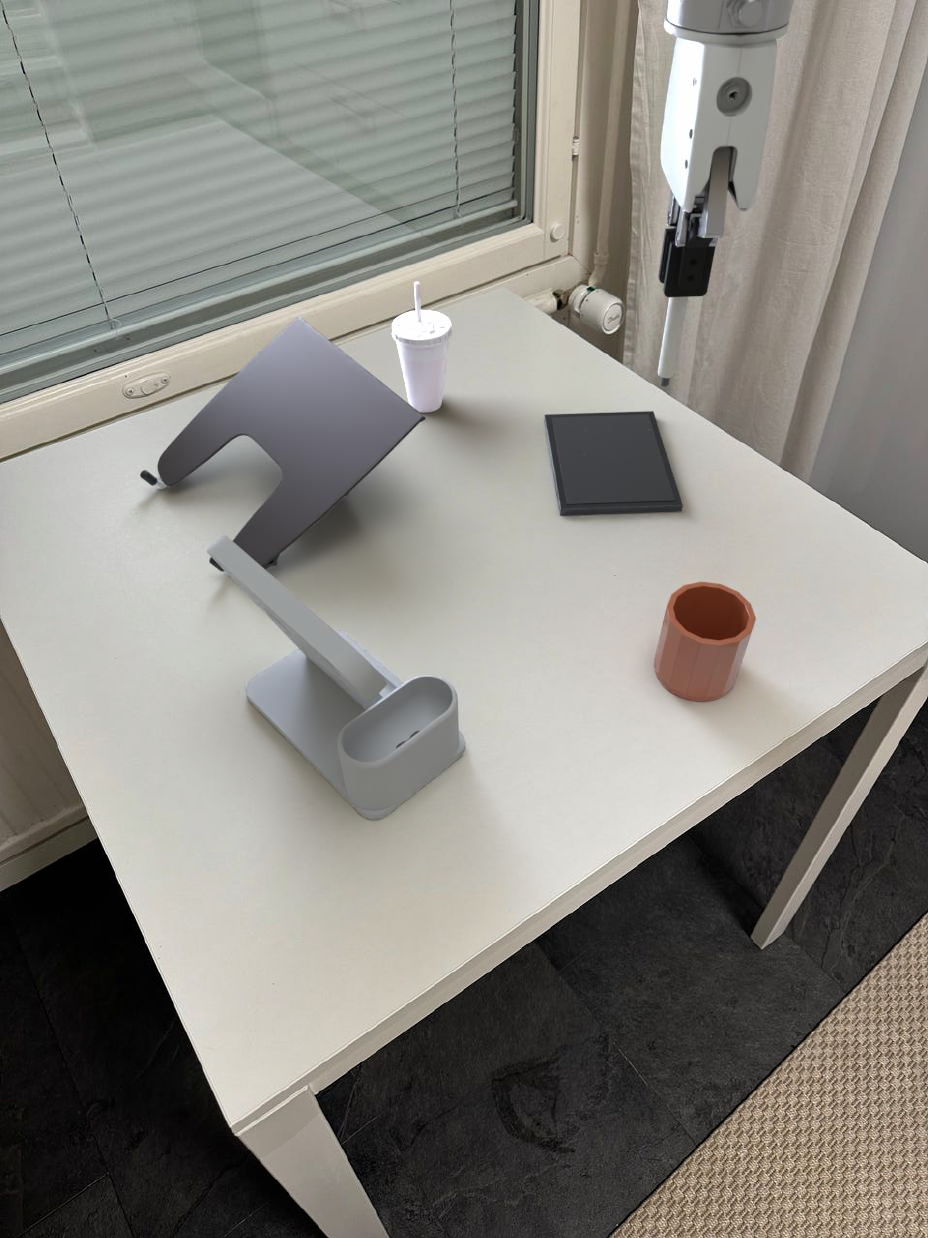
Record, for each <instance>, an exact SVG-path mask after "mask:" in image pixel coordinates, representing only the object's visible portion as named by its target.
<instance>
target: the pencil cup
mask: <svg viewBox="0 0 928 1238" xmlns="http://www.w3.org/2000/svg"><path fill="white" fill-rule="evenodd" d="M665 607H666V608H665V611H664V617H663V621H662V625H661V630H660V634H659V638H658V643H657V647H656V652H655V656H654V671H655V675H656V677H657V679H658V681H659V682H660V683H661V685H662V686H663V687H664V688H665V689H666V690H668V691H669V692H670V693H671V694H673V695H675V696H677V697H679V698H682V699H685V700H687V701H692V702H711V701H715V700H718V699H720V698H722V697H724V696H726V695H727V694H728V693H730V691H731V690H732V688H733V687H734V686H735V684H736V680H737V677H738V675H739V672H740V669H741V666H742V663H743V659H744V657H745V654H746V652H747V648H748V645H749V642H750V640H751V636H752V633H753V630H754V627H755V623H756V620H757V618H756V614H755V611H754V608H753V606H752V604H751V602H750V601H748V599H746V597H744V595H742V594H741V592H739V591H737V590H735V589H733V588H731V587H729V586H726V585H725V584H722V583H716V582H709V581H698V582H691V583H687V584H684V585H682V586H680V587H679V588H678V589H676V590H675V591H674V592H672V593H671V594H670V597H669V599H668V602H667V604H666V606H665Z"/></svg>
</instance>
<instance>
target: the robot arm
mask: <svg viewBox="0 0 928 1238" xmlns="http://www.w3.org/2000/svg"><path fill="white" fill-rule="evenodd" d="M793 4H794V0H666V6H665V15H664V21H663V29H664V31H665V32H667V33H668V34H669V35H671V36H674V37H676V39H675V45H674V46H673V56H672V61H671V67H670V76H669V81H668V87H667V93H666V99H665V108H664V115H663V121H662V122H663V123H662V130H661V141H660V164H661V168H662V171H663V173H664V176H665V179H666V181H667V183H668V186H669V188H670V191H669V200H668V207H667V215H666V225H667V227H668V228H664V233H663V240H662V247H661V255H660V261H659V269H658V280H659V282H660V284H663V288H662V290H663V295H664V296H665V297H667V298H669V297H688V298H690V297H704V296H706V294H707V293H708V289H709V285H710V278H711V273H712V268H713V263H714V257H715V253H716V247H717V244H718V239H721V238H723V235H724V231H725V220H726V212H727V211H726V210H727V201H728V200H727V199H728V193H729V194H730V196H731V198H732V200H733V202H734V203H735V206H736V207H737V208H738V209H739V211H741V212H748V211H749V210H750V209H751V208H752V207H753V206H754V204H755V201H756V196H757V193H758V186H759V181H760V175H761V170H762V163H763V157H764V151H765V145H766V140H767V132H768V127H769V123H770V122H769V120H770V116H771V115H770V114H771V108H772V100H773V93H774V85H775V77H776V76H775V74H776V66H777V52H778V51H777V49H778V42H777V39H780V38H782V37H784V36H785V35H786V34H787V33H788V29H789V25H790V19H791V14H792V10H793V9H792V8H793ZM691 214H702V216H701V217H693V218H692V219H691V221H690V217H691Z"/></svg>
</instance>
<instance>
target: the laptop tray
mask: <svg viewBox="0 0 928 1238" xmlns="http://www.w3.org/2000/svg"><path fill="white" fill-rule="evenodd" d="M424 421H426V416H425V415H424V414H422V412H418V411H417V410H416V409H415V408H413V407H412V406H411V405H410V404H409V402H408V401H406V400H405V399H403V397H401V396H400V395H398V394H397V393H396V392H394V390H392V389H391V388H390V387H389V386H387V385H386V383H384V382H382V381H381V380H380V379H378V378H377V377H376V376H375V375H373V374H372V373H371V372H370V371H368V370H367V369H366V368H365V367H363V366H362V365H361V364H360V363H359V362H357V360H355V359H353V358H352V357H351V356H350V355H348V354H347V353H345V352H344V351H343V350H342V349H341V348H339V346H337V345H336V344H334V343H333V342H332V341H331V340H330V339H328V338H327V337H326V336H325V335H324V334H322V333H321V332H320V331H318V330H317V329H316V328H315V327H313V326H312V325H311V324H310V323H308V322H307V321H306V320H305V319H303V318H302V317H301V316H297V317H296V318H294V319H293V320H292V321H291V322H290V323H289V324H288V325H287V326H286V327H285V328H284V329H282V331H281V332H279V333H278V334H277V335H276V336H275V337H273V339H272V340H271V341H270V342H269V343H267V344H266V345H265V346H264V347H263V348H262V349H261V350H260V351H259V352H258V353H257V354H256V355H255V356H254V357H253V358H252V359H251V360H250V361H249V362H247V364H246V365H244V367H242V368H241V370H240V371H238V372H237V374H236V375H234V377H232V378H231V379H230V381H229V382H227V384H225V385H224V386H223V387H222V388H221V389H220V390H219V392H217V393H216V394H215V396H213V397H212V399H211V400H209V401H208V403H207V404H205V405H204V407H203V408H202V409H200V411H199V412H198V413H197V414H196V415H195V416H194V417H193V418H192V419H191V420H190V421H189V423H188V424H187V425H185V427H184V428H183V429H182V430H181V432H179V434H178V435H177V436H176V437H175V438H174V439H173V440H172V441H171V443H170V444H169V445H168V446H167V447H166V448H165V449H164V450H163V452H162V454H161V455H160V457H159V459H158V462H157V473H158V475H159V477H160V479H161V480H158V478H157V477H156V476H154V475H153V474H152V473H151V472H149V471H148V470H147V469H143V470H142V471H140V474H139V476H140V478H141V479H143V481H145V482H146V483H147V484H148V485H150V486H152V487H153V488H155V489H157V490H163V489H166V488H167V487H168V488H172V487H175V486H176V485H178V484H180V483H181V482H182V481H183V480H185V479H186V478H187V477H188V476H190V475H191V474H192V473H194V472H195V471H197V470H198V469H199V468H200V467H202V466H203V465H205V464H206V463H207V462H208V461H209V460H210V459H212V458H213V457H214V456H215V455H216V454H217V453H219V452H220V451H221V450H223V448H224V447H226V446H227V445H228V444H229V443H230V442H232V441H233V440H234V439H237V438H238V437H242V436H247V437H249V438H250V439H252V440H253V441H254V442H255V443H256V444H257V445H258V446H259V447H260V448H261V449H262V450H263V451H264V452H265V453H266V454H267V455H268V456H269V457H270V458H271V459H272V460H273V461H274V462H275V463H276V464H277V465H278V467H279V468H280V469H281V472H282V477H281V481H280V483H279V485H278V486H277V488H276V489H275V490H274V491H273V492H272V494H270V495H269V496H268V497H267V499H266V500H265V501H264V502H263V503H262V504H261V505H260V507H258V509H257V510H256V511H255V512H254V513H253V515H252V516H251V517H250V518H249V520H248V521H247V522H246V523H245V524H244V525H243V527H242V528H241V529H240V530H239V532H238V533H237V534H236V536H235V537H234V538H233V540H232V541H233V542H234V543H235V544H236V545H237V546H239V547H240V548H241V549H242V550H243V551H244V552H245V553H247V554H248V555H249V556H250V557H251V558H252V559H253V560H255V561H256V562H257V563H258V564H259V565H260V566H261V567H263V568H264V569H265V570H267V569H269V568H275V567H277V565H278V558H279V557H280V555H281V554H282V553H283V552H285V551H286V550H287V549H288V548H289V547H290V546H292V545H293V544H294V543H295V542H296V541H297V540H299V538H301V537H302V536H303V535H304V534H306V532H308V531H309V530H310V529H312V527H314V526H315V525H316V524H317V523H318V522H319V521H320V520H321V519H322V518H324V517H325V516H326V515H327V514H328V513H329V512H330V511H332V509H333V508H334V507H336V506H337V505H338V504H339V503H340V502H341V501H342V500H343V499H344V498H345V497H348V495H349V494H350V493H351V492H352V490H353V489H355V488H356V487H357V486H358V485H359V484H360V483H361V482H362V481H363V480H364V479H365V478H366V477H367V476H368V475H369V474H370V473H372V471H373V470H375V469H376V467H378V466H379V465H380V464H381V462H382V461H384V459H386V458H387V457H388V456H389V454H391V453H392V452H393V451H394V449H395V448H397V447H398V445H400V444H401V443H402V441H404V440H405V438H406V437H407V436H408V435H409V434H410V433H412V431H413V430H414V429H416V427H417V426H418V425H419V424H420V423H422V422H424ZM208 561H209V564H210V565H212V566H213V567H215V568H216V569H217V570H218V571H220V572H221V573H223V574H225V575H228V574H227V573H226V572H225V571H224V570H223V569H222V568H221V566H220V565H219V564H218V563H217V562H216V561H215V560H214V559H213V558H212V557H211V556H210V557H209V560H208Z"/></svg>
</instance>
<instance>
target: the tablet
mask: <svg viewBox="0 0 928 1238" xmlns="http://www.w3.org/2000/svg"><path fill="white" fill-rule="evenodd" d="M657 421H658V420H657V417H656V415H655V412H654V410H650V411H649V410H646V411H617V412H616V411H613V412H612V411H611V412H581V413H579V412H578V413H551V414H549V413H547V414H544V416H543V422H544V428H545V434H546V441H547V446H548V452H549V457H550V458H549V459H550V464H551V471H552V475H553V477H552V478H553V482H554V488H555V494H556V500H557V506H558V511H559V512H558V513H559V516H578V515H579V516H580V515H581V516H582V515H605V514H606V515H609V514H612V515H613V514H614V515H615V514H642V513H644V514H645V513H671V512H672V513H673V512H674V513H675V512H682V511H683V508H684V503H683V500H682V497H681V495H680V492H679V488H678V484H677V482H676V478H675V476H674V473H673V469H672V465H671V463H670V459H669V456H668V452H667V450H666V447H665V443H664V440H663V437H662V434H661V431H660V427H659V424H658V422H657Z"/></svg>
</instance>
